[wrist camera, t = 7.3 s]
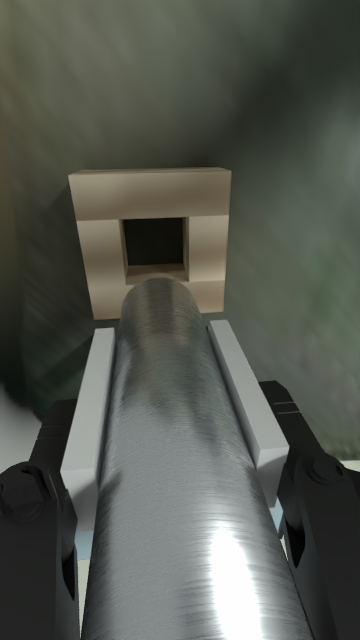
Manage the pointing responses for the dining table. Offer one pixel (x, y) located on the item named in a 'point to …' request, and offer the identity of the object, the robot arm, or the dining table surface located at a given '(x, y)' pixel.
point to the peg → (181, 495)
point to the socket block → (152, 202)
